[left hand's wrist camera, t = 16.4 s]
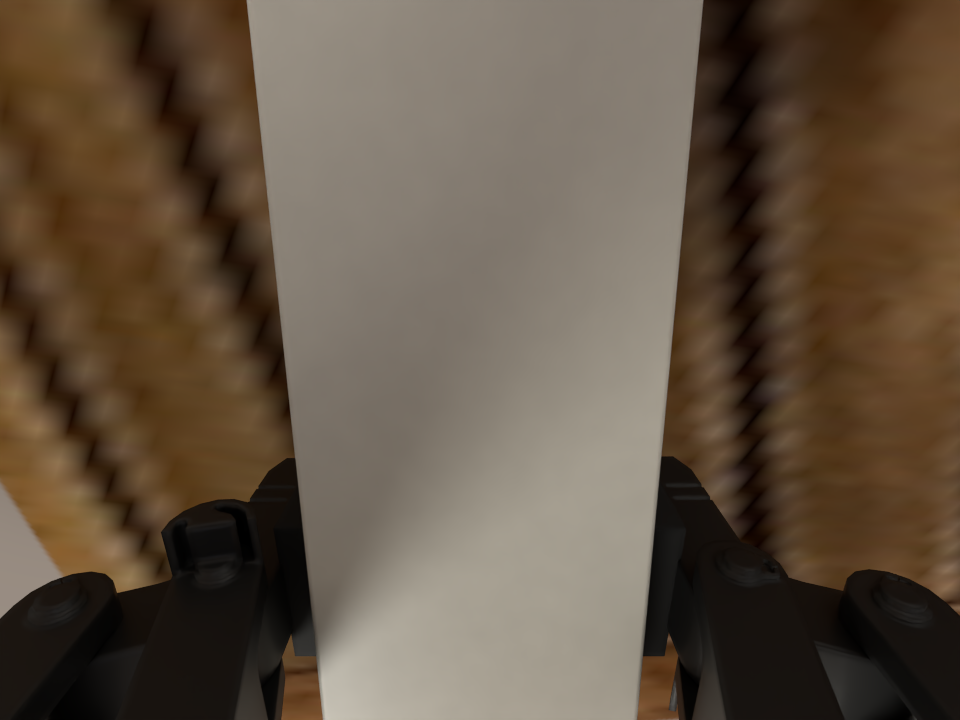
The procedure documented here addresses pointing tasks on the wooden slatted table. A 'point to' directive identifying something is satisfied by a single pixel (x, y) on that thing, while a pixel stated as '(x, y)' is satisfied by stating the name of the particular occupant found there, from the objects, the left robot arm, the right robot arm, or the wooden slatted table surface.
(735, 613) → the left robot arm
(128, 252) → the wooden slatted table surface
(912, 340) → the wooden slatted table surface
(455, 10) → the bar
